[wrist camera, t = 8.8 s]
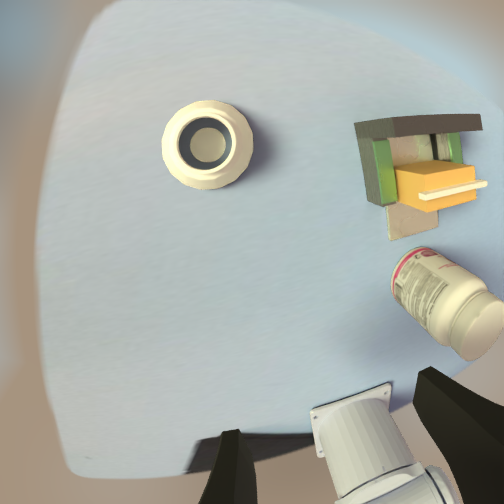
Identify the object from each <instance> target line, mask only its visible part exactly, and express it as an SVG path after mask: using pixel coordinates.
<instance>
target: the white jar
mask: <svg viewBox="0 0 504 504" xmlns="http://www.w3.org/2000/svg"><path fill="white" fill-rule="evenodd" d="M199 118H214V119H216V120H219V121H220V122H222V123H223V124H224V125H225V126H226V127H227V128H228V130H229V131H230V134H231V137H232V149H231V152H230V154H229V156H228V158H227V159H226V160H225V161H224V162H223V163H222V164H221V165H219V166H218V167H216V168H213V169H208V170H201V169H196V168H194V167H192V166H190V165H189V164H187V163H186V162H185V161H184V159H183V158H182V156H181V154H180V151H179V138H180V135H181V133H182V131H183V129H184V128H185V127H186V126H187V125H188V124H189V123H190V122H192V121H194V120H196V119H199ZM225 147H226V142H225V138H224V136H223V135H222V133H221V132H219V131H218V130H216V129H214V128H203V129H200V130H198V131H197V132H196V133H195V134H194V135H193V137H192V139H191V141H190V149H191V152H192V154H193V156H194V157H195V158H196V159H198V160H199V161H202V162H213V161H215V160H217V159H219V158H220V157H221V156H222V154H223V153H224V151H225ZM162 153H163V159H164V161H165V163H166V165H167V167H168V169H169V171H170V173H171V174H172V175H173V176H175V177H176V178H177V179H178V180H179V181H181V182H182V183H183V184H184V185H187V186H191V187H194V188H197V189H200V190H204V189H217V188H221V187H223V186H225V185H227V184H229V183H231V182H233V181H235V180H236V179H237V178H238V177H239V176H240V175H241V173H242V172H243V171H244V170H245V169H246V168H247V167H248V164H249V161H250V158H251V156H252V153H253V133H252V131H251V128H250V126H249V124H248V122H247V120H246V118H245V117H244V116H243V115H242V114H241V113H240V112H238V111H237V110H236V109H235V108H234V107H233V106H231V105H228V104H225V103H222V102H219V101H216V100H208V101H197V102H194V103H192V104H190V105H188V106H186V107H184V108H182V109H180V110H179V111H178V112H177V113H176V114H175V115H174V117H173V118H172V119H171V120H170V121H169V122H168V123H167V126H166V129H165V132H164V135H163V138H162Z"/></svg>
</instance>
